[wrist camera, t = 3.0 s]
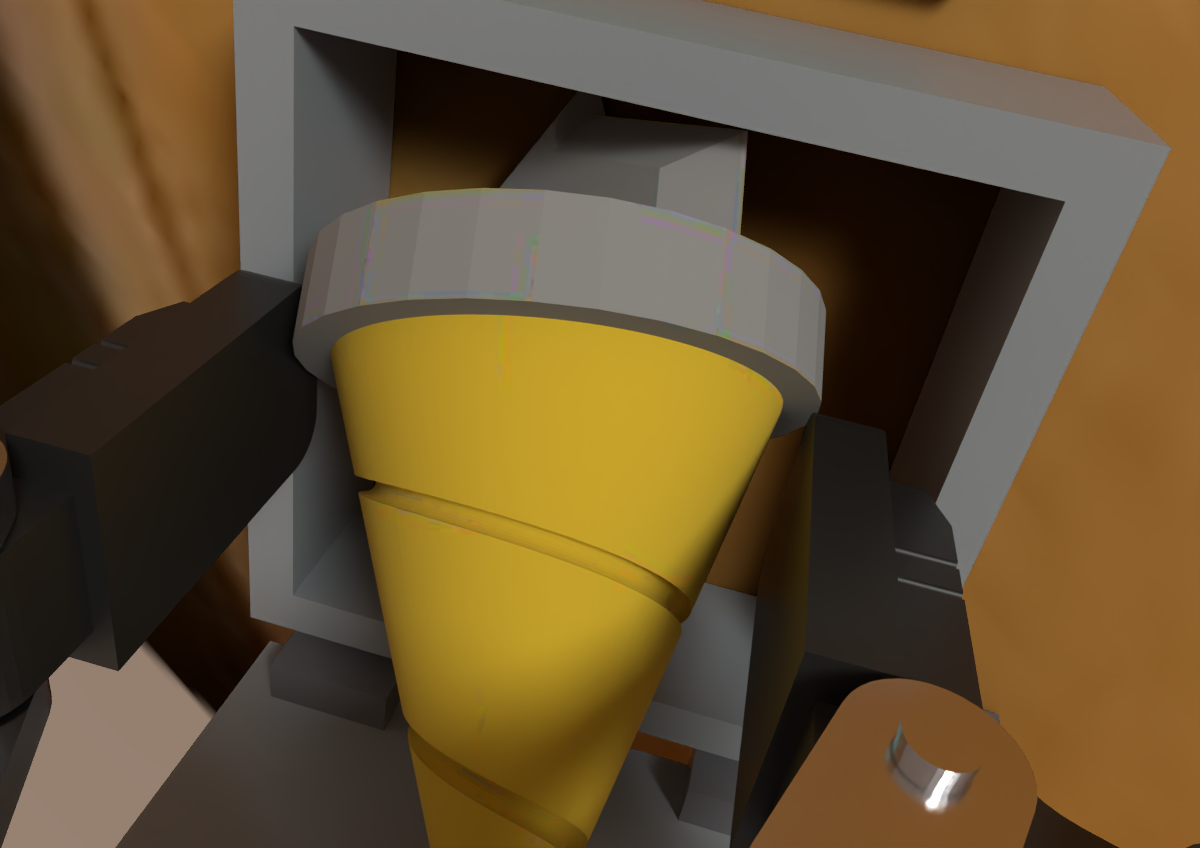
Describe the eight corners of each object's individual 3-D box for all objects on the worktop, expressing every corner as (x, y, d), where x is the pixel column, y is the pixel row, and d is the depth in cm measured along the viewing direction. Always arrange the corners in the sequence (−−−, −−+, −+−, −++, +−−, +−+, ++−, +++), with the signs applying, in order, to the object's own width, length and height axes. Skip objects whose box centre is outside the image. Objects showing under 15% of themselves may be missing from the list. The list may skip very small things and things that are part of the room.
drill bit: (935, 93, 11) (909, 1113, 9) (605, 216, 15) (527, 941, 12) (574, -222, 7) (370, 1342, 5) (267, 47, 11) (74, 1007, 9)
